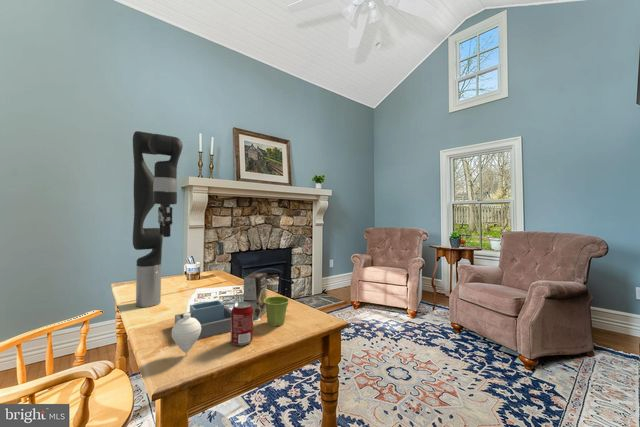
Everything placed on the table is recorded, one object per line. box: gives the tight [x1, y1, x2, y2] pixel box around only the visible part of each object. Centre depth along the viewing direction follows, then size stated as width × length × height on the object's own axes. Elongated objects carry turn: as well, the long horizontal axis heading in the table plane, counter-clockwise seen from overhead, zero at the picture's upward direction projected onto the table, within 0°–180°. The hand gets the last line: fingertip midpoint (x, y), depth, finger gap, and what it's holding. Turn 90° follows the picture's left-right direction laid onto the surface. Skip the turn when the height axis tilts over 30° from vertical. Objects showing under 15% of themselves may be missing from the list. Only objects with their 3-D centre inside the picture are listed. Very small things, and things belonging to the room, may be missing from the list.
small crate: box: [189, 299, 225, 324], centre depth 99 cm, size 6×10×7 cm, turn 128°
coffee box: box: [242, 272, 268, 321], centre depth 111 cm, size 9×6×16 cm
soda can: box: [230, 301, 254, 347], centre depth 88 cm, size 7×7×12 cm
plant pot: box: [264, 295, 290, 327], centre depth 103 cm, size 9×9×9 cm
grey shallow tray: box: [174, 305, 232, 340], centre depth 98 cm, size 15×18×4 cm
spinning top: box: [171, 312, 201, 357], centre depth 79 cm, size 8×8×12 cm
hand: (164, 235), depth 100 cm, fingers open, 8 cm apart
